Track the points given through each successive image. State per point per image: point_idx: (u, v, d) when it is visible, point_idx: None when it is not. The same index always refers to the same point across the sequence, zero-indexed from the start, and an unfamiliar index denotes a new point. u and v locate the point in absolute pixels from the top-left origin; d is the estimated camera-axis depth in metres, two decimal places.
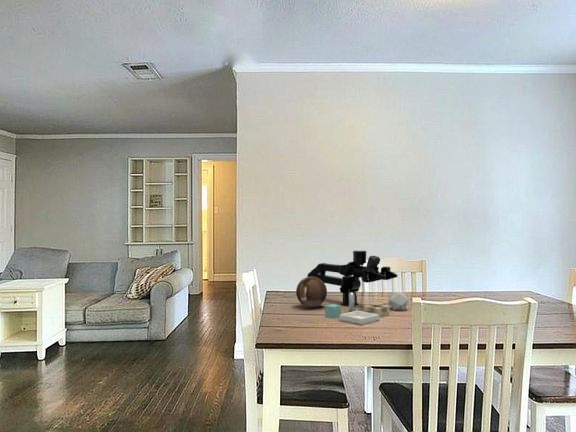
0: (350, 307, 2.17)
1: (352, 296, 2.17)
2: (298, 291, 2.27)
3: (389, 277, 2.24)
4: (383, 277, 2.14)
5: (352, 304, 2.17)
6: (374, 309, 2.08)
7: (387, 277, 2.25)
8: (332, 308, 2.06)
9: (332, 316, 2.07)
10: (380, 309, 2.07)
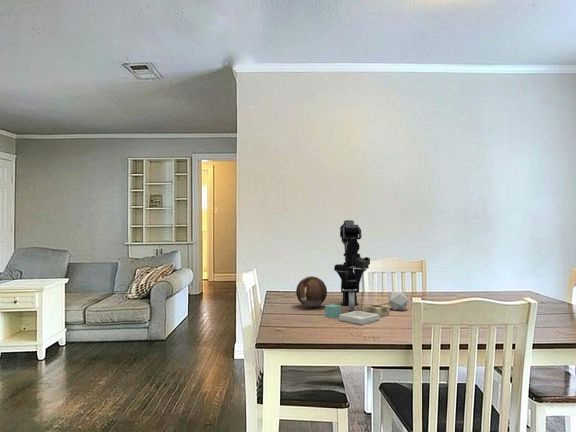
0: (350, 307, 2.17)
1: (352, 296, 2.17)
2: (298, 291, 2.27)
3: (355, 274, 2.22)
4: (344, 284, 2.15)
5: (352, 304, 2.17)
6: (374, 309, 2.08)
7: (355, 271, 2.23)
8: (332, 308, 2.06)
9: (332, 316, 2.07)
10: (380, 309, 2.07)
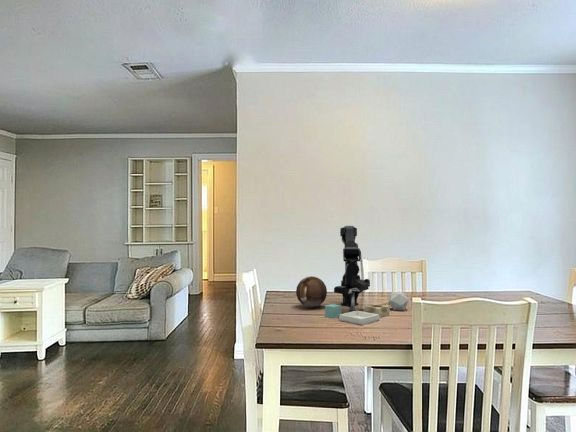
0: (350, 307, 2.17)
1: (352, 296, 2.17)
2: (298, 291, 2.27)
3: None
4: (348, 305, 2.17)
5: (352, 304, 2.17)
6: (374, 309, 2.08)
7: None
8: (332, 308, 2.06)
9: (332, 316, 2.07)
10: (380, 309, 2.07)
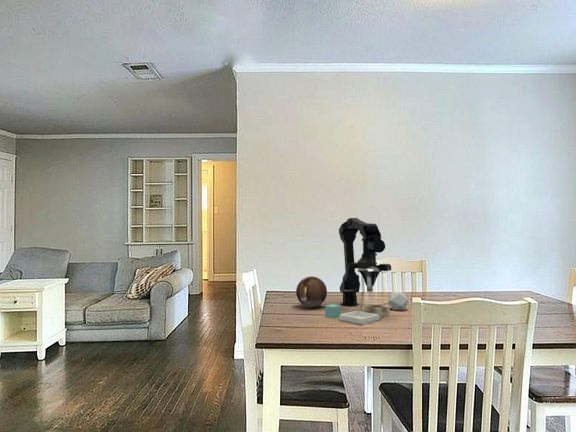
0: None
1: (367, 275, 2.12)
2: (298, 291, 2.27)
3: None
4: None
5: (367, 283, 2.12)
6: (374, 309, 2.08)
7: None
8: (332, 308, 2.06)
9: (332, 316, 2.07)
10: (380, 309, 2.07)
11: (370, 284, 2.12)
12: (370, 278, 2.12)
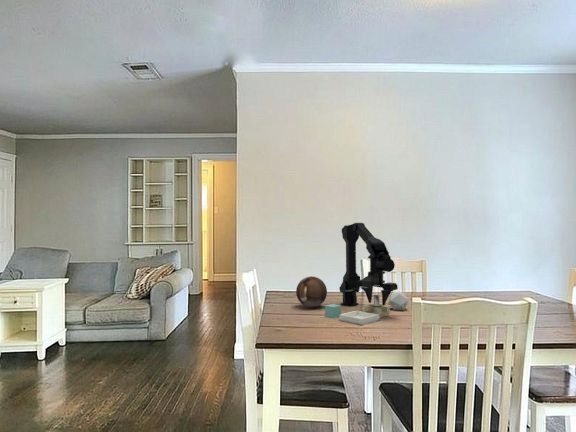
0: None
1: (374, 298, 2.11)
2: (298, 291, 2.27)
3: None
4: None
5: (374, 306, 2.11)
6: (374, 309, 2.08)
7: None
8: (332, 308, 2.06)
9: (332, 316, 2.07)
10: (380, 309, 2.07)
11: None
12: (377, 302, 2.10)
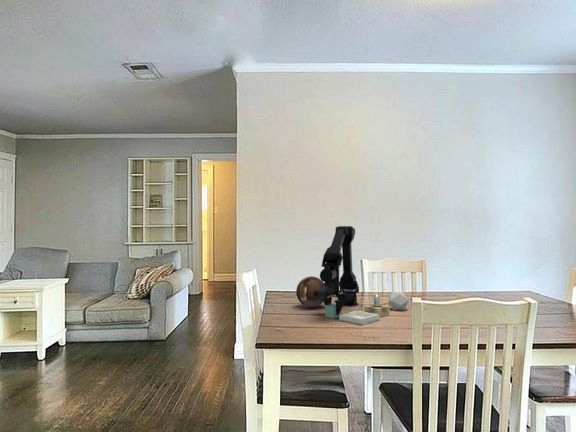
0: None
1: (374, 298, 2.11)
2: (298, 291, 2.27)
3: None
4: None
5: (374, 306, 2.11)
6: (374, 309, 2.08)
7: None
8: (332, 308, 2.06)
9: (332, 316, 2.07)
10: (380, 309, 2.07)
11: None
12: (377, 302, 2.10)
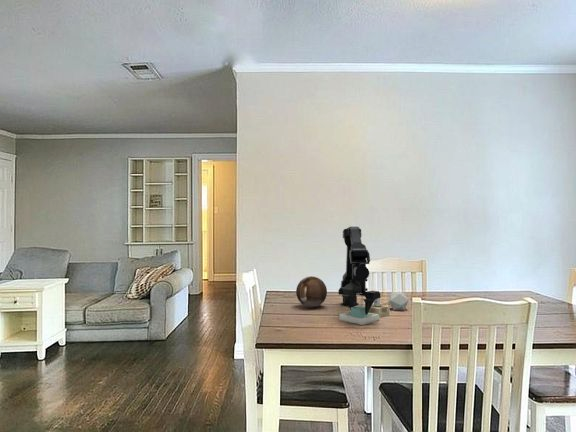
0: None
1: None
2: (298, 291, 2.27)
3: None
4: None
5: (374, 306, 2.11)
6: (374, 309, 2.08)
7: None
8: (358, 310, 1.98)
9: None
10: (380, 309, 2.07)
11: None
12: (377, 302, 2.10)
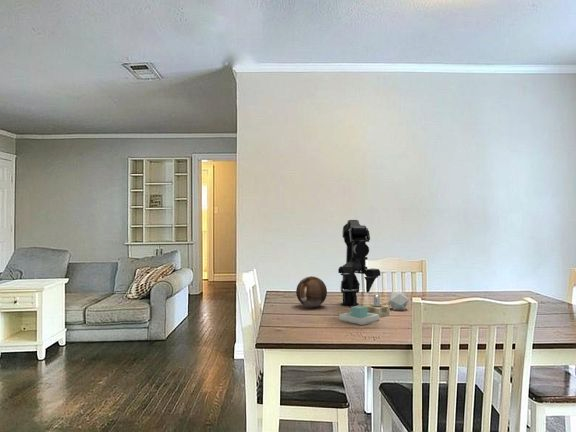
0: None
1: (374, 298, 2.11)
2: (298, 291, 2.27)
3: None
4: None
5: (374, 306, 2.11)
6: (374, 309, 2.08)
7: None
8: (358, 310, 1.98)
9: None
10: (380, 309, 2.07)
11: None
12: (377, 302, 2.10)
